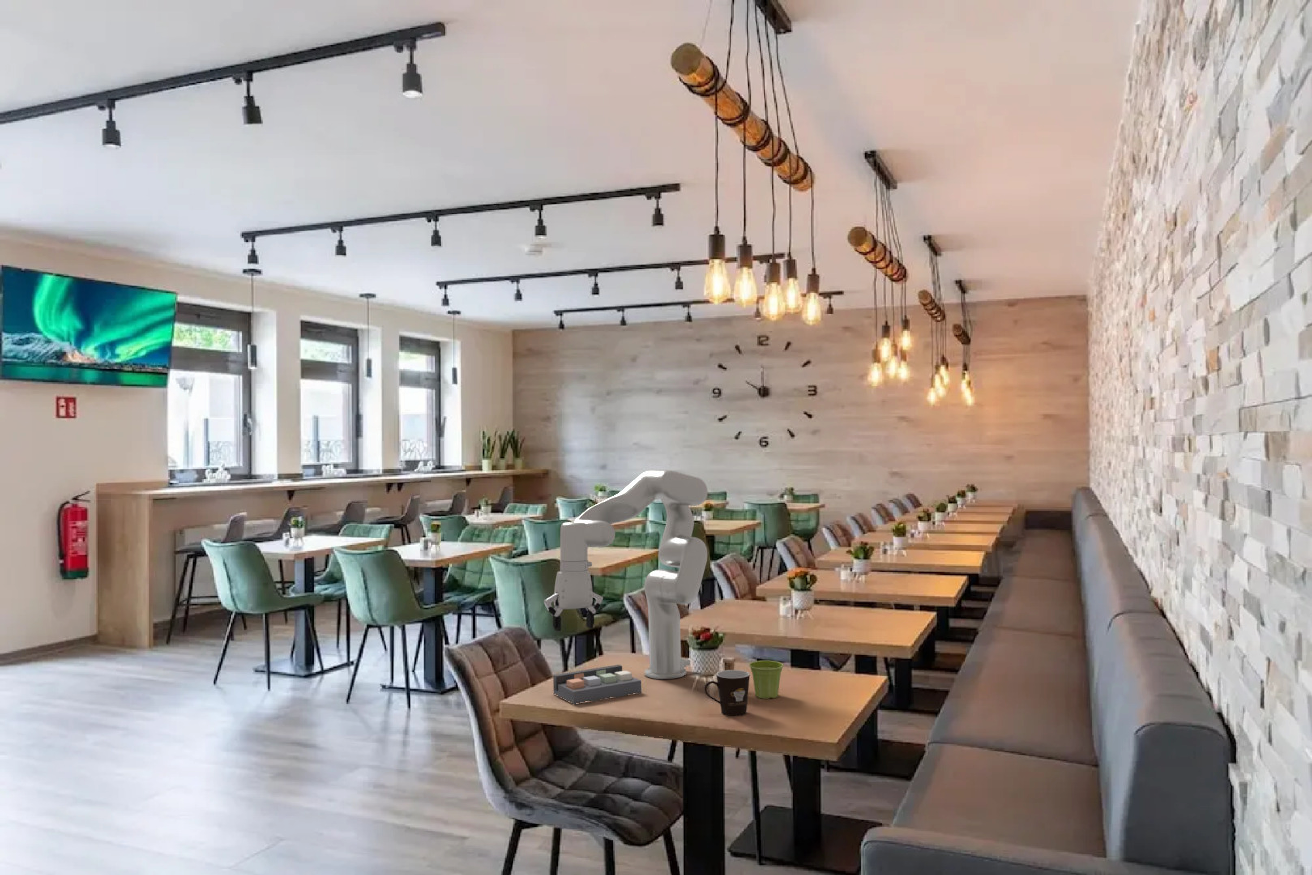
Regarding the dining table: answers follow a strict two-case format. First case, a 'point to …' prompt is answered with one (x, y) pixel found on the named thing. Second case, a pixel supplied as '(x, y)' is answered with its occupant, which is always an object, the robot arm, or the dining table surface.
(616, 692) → the keypad
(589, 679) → the key slate
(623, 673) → the key cream
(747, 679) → the coffee mug
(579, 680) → the key terracotta
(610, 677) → the key sage
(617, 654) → the dining table surface
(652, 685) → the dining table surface
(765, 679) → the plant pot
